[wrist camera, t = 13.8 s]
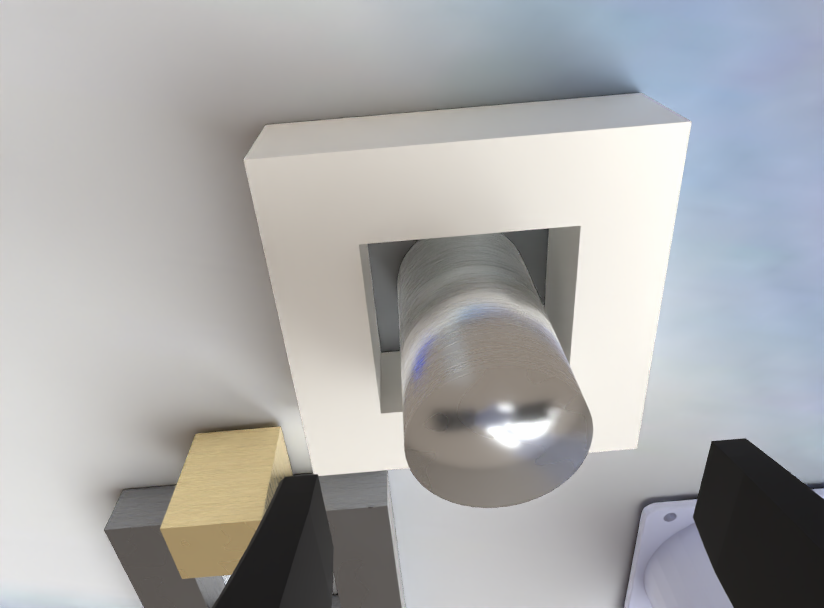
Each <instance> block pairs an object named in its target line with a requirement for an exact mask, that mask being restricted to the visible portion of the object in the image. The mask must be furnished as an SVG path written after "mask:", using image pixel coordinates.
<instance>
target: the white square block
mask: <svg viewBox="0 0 824 608" xmlns="http://www.w3.org/2000/svg"><path fill="white" fill-rule="evenodd" d="M690 128H691V121H690V120H688V119H686V118H684V117H683V116H681V115H679V114H678V113H676V112H674V111H672V110H671V109H669V108H667V107H665V106H664V105H662V104H660V103H658V102H657V101H655V100H653V99H652V98H650V97H648V96H646V95H645V94H643V93H631V94H620V95H608V96H596V97H585V98H573V99H561V100H550V101H538V102H526V103H514V104H503V105H491V106H479V107H468V108H456V109H444V110H433V111H421V112H409V113H397V114H386V115H374V116H362V117H351V118H339V119H327V120H316V121H304V122H292V123H280V124H269V125H265V126H264V128H263V130H262V131H261V133H260V134H259V136H258V138H257V139H256V141H255V142H254V144H253V145H252V147H251V149H250V150H249V152H248V153H247V155H246V157H245V158H244V160H243V161H244V165H245V169H246V174H247V178H248V183H249V187H250V192H251V196H252V201H253V205H254V210H255V214H256V219H257V223H258V228H259V232H260V237H261V241H262V245H263V250H264V254H265V259H266V263H267V268H268V272H269V277H270V281H271V286H272V290H273V295H274V299H275V304H276V308H277V313H278V317H279V322H280V326H281V330H282V335H283V339H284V344H285V348H286V353H287V357H288V362H289V366H290V371H291V375H292V380H293V384H294V389H295V393H296V398H297V402H298V406H299V411H300V415H301V420H302V424H303V429H304V433H305V438H306V442H307V447H308V451H309V456H310V460H311V465H312V469H313V474H318V476H325V475H336V474H348V473H360V472H371V471H383V470H395V469H406V468H409V466H408V463H407V460H406V457H405V451H404V430H403V407H402V383H401V360H400V351H396V352H384V353H381V349H380V341H379V333H378V325H377V317H376V308H375V300H374V292H373V284H372V276H371V268H370V260H369V252H368V244H371V243H383V242H395V241H406V240H418V239H430V238H442V237H453V236H465V235H477V234H488V233H500V232H512V231H523V230H535V229H547V228H549V231H548V251H547V272H546V292H545V311H546V313H547V315H548V318H549V320H550V322H551V324H552V327H553V329H554V331H555V334H556V336H557V338H558V340H559V343H560V345H561V347H562V349H563V352H564V354H565V356H566V358H567V361H568V363H569V365H570V367H571V370H572V372H573V374H574V376H575V379H576V381H577V383H578V386H579V388H580V390H581V392H582V395H583V397H584V399H585V401H586V404H587V406H588V408H589V410H590V414H591V417H592V422H593V438H592V442H591V447H590V449H589V451H588V453H593V452H605V451H616V450H628V449H637V445H638V439H639V433H640V427H641V421H642V415H643V409H644V403H645V397H646V391H647V385H648V379H649V373H650V367H651V361H652V355H653V349H654V343H655V337H656V331H657V325H658V319H659V313H660V307H661V301H662V296H663V290H664V284H665V278H666V272H667V266H668V260H669V254H670V248H671V242H672V236H673V230H674V224H675V218H676V212H677V206H678V200H679V194H680V188H681V182H682V176H683V170H684V164H685V158H686V152H687V146H688V140H689V134H690Z"/></svg>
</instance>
